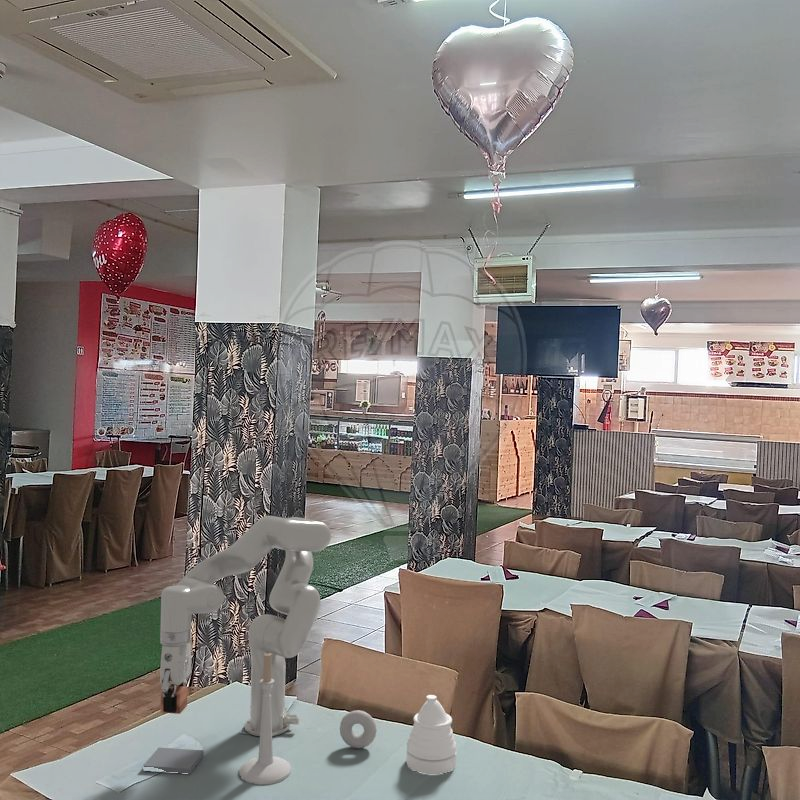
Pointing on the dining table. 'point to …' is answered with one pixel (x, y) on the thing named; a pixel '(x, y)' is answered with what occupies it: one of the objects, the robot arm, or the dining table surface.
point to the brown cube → (181, 699)
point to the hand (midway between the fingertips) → (174, 706)
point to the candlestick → (266, 741)
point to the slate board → (174, 759)
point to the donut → (349, 735)
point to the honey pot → (431, 740)
